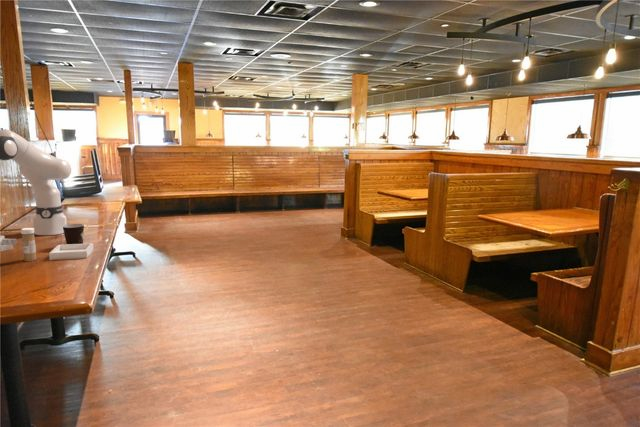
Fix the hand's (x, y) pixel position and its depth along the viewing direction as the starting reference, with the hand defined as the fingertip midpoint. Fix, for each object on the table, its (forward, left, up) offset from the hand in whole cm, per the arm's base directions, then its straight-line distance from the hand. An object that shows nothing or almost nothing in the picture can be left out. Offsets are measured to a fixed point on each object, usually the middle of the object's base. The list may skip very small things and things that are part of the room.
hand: (14, 243), depth 176 cm
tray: (-6, +19, -7) cm, 21 cm away
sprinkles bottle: (-1, +5, -8) cm, 9 cm away
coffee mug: (-22, +18, -8) cm, 29 cm away
